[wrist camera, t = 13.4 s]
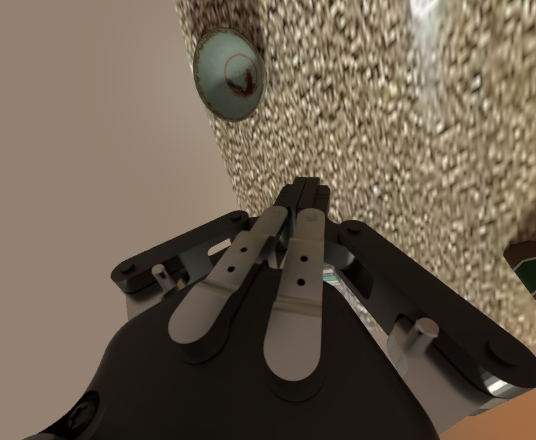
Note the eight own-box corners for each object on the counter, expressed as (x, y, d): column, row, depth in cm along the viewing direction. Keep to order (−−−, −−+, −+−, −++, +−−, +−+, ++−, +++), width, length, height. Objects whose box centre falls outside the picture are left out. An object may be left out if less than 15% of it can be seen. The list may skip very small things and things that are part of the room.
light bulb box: (335, 239, 60) (332, 268, 52) (343, 255, 63) (341, 285, 55) (302, 246, 66) (295, 272, 58) (310, 260, 68) (305, 287, 61)
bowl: (279, 112, 44) (267, 121, 38) (223, 114, 48) (205, 123, 42) (274, 25, 35) (258, 19, 30) (207, 36, 39) (181, 34, 34)
